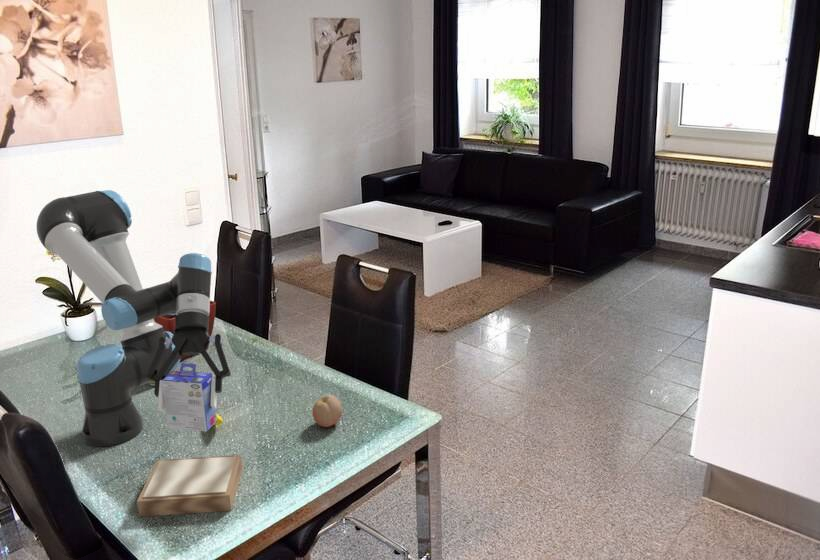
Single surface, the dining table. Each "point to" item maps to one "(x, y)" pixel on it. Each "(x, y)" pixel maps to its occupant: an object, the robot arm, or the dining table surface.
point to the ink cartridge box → (188, 399)
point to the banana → (218, 420)
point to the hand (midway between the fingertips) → (187, 408)
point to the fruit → (327, 411)
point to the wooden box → (191, 486)
